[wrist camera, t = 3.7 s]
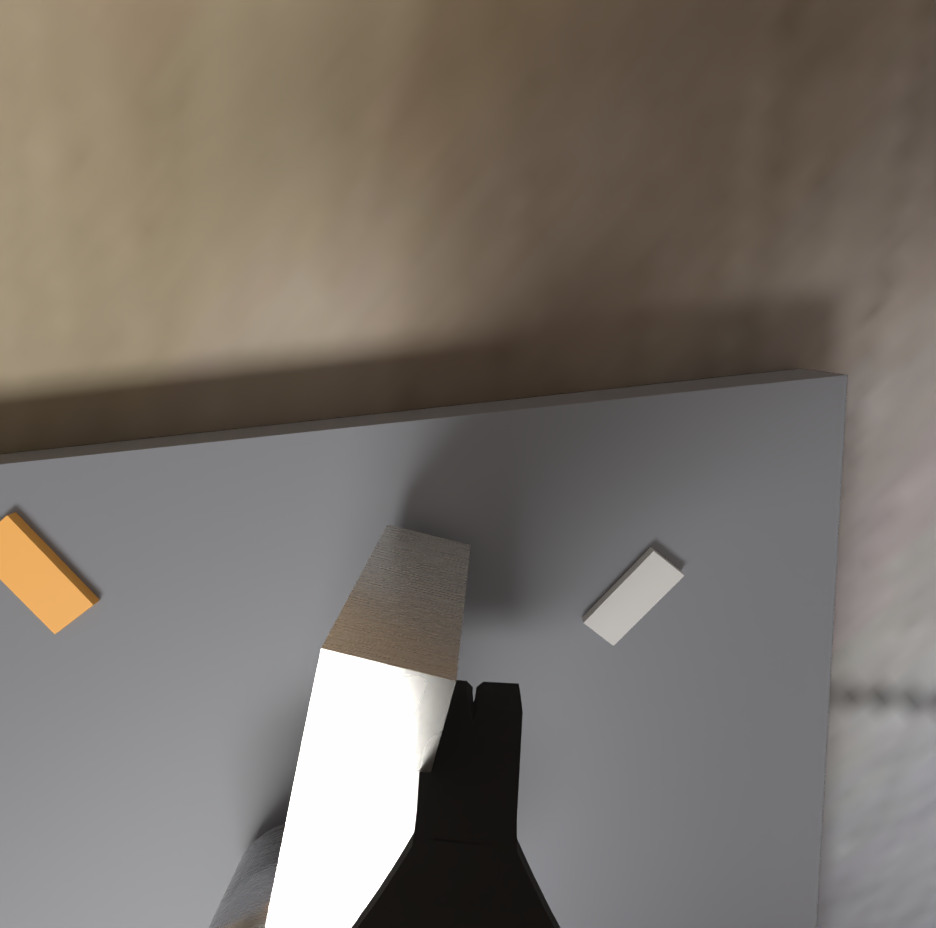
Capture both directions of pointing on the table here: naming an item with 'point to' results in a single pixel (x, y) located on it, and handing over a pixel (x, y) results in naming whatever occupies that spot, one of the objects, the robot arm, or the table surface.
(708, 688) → the panel
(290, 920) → the lever handle
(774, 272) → the table surface
